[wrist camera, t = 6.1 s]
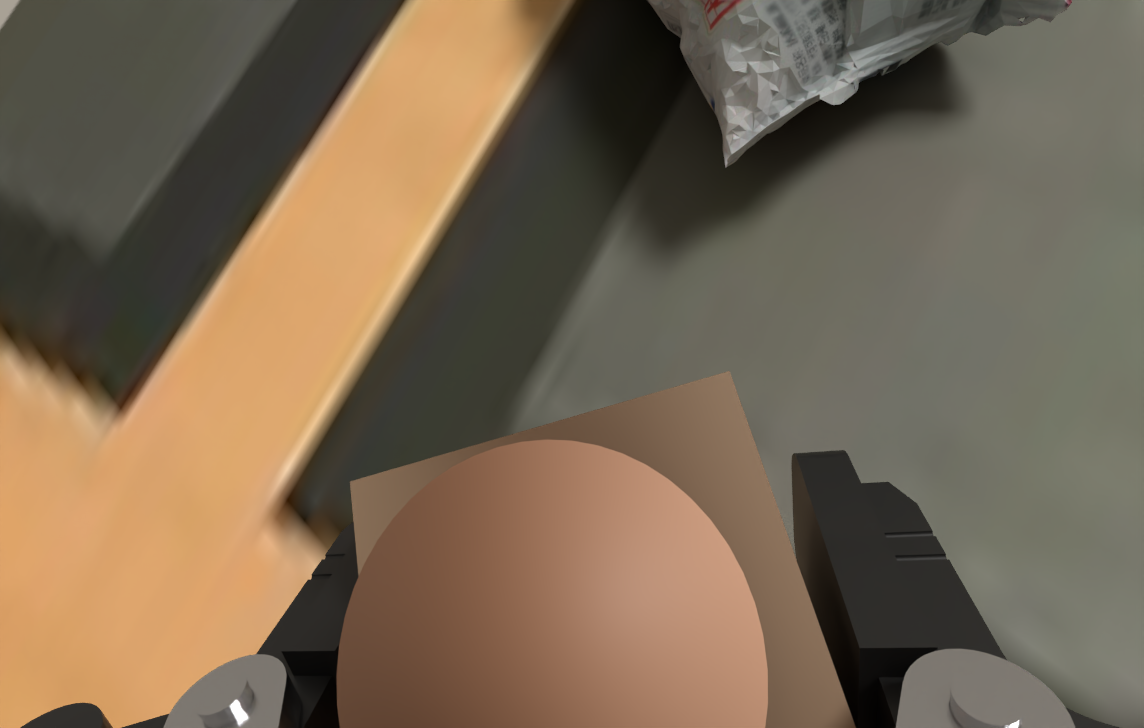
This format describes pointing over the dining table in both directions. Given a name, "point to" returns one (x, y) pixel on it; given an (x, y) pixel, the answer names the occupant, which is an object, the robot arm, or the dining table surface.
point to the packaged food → (815, 49)
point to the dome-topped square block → (586, 581)
